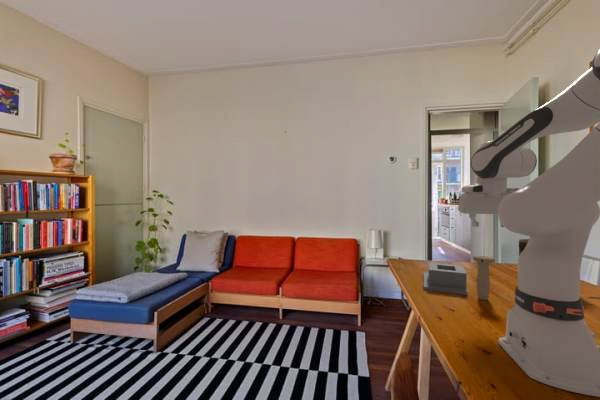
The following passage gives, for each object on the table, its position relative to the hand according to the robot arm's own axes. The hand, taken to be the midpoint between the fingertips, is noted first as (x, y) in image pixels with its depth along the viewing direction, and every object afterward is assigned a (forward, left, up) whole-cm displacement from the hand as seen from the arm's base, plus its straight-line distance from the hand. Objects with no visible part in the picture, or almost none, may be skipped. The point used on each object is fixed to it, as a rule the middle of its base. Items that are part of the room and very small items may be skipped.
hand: (489, 226), depth 99 cm
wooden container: (+28, -23, -26) cm, 45 cm away
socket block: (+13, +14, -26) cm, 32 cm away
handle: (0, +2, -26) cm, 26 cm away
